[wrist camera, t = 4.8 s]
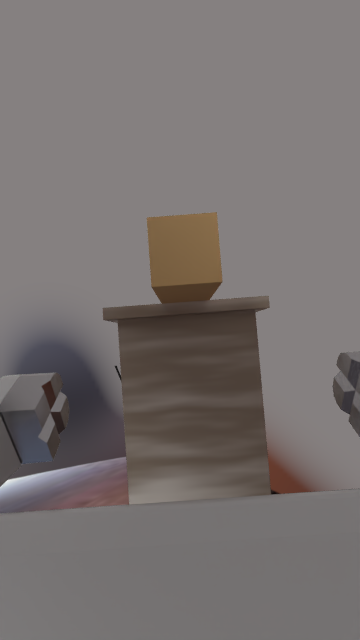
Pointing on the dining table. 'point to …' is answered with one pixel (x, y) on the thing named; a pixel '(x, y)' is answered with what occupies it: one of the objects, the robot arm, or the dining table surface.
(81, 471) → the dining table surface
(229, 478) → the birch pedestal
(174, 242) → the ochre bar
